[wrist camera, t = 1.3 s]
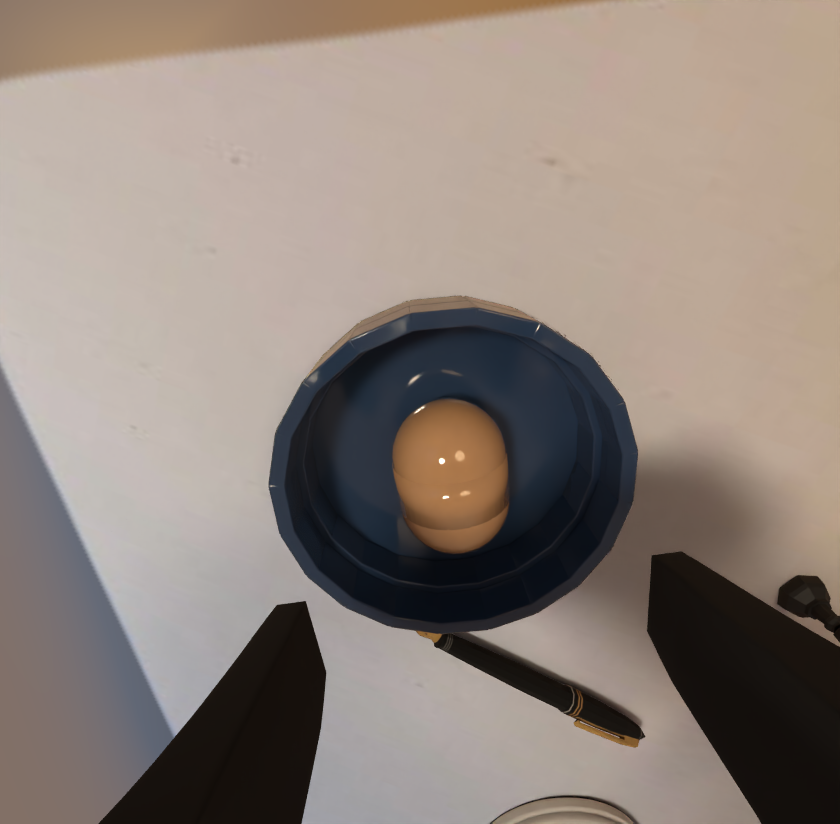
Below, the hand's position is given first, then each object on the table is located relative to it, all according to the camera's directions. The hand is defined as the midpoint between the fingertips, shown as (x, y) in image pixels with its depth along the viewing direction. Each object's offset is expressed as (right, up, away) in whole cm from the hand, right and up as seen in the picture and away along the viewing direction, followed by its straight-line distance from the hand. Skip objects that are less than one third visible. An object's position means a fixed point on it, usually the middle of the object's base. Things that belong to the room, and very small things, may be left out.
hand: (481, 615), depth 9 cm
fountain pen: (+4, -8, +12) cm, 15 cm away
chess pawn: (+16, -4, +11) cm, 20 cm away
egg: (0, +3, +8) cm, 8 cm away
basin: (0, +3, +8) cm, 8 cm away
